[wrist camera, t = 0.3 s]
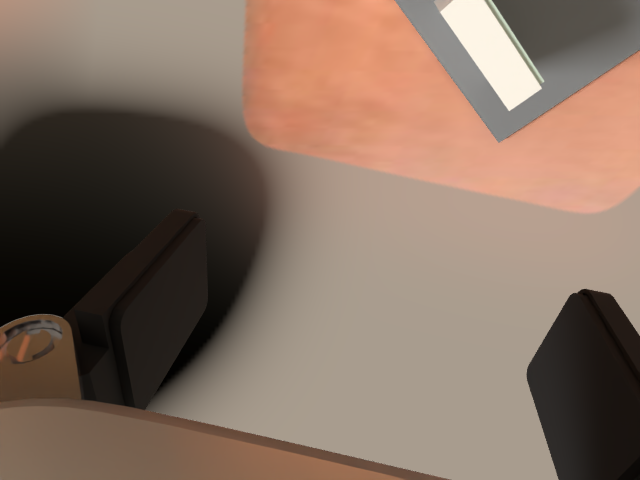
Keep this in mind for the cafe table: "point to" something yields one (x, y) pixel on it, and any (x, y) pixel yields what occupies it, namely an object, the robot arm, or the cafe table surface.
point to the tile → (493, 48)
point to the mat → (536, 50)
